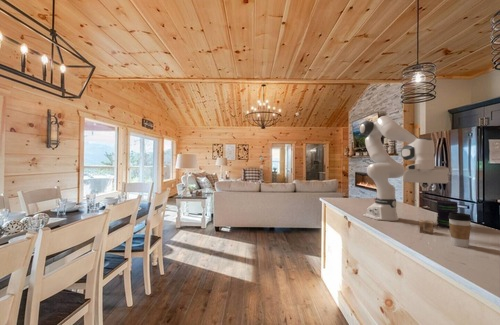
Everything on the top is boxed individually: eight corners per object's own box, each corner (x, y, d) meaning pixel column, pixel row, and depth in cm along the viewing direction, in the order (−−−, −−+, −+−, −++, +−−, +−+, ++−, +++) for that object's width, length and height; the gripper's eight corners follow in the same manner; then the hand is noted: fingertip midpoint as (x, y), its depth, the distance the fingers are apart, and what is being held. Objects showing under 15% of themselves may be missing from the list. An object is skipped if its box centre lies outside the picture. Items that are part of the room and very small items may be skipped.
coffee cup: (454, 247, 109) (453, 214, 109) (444, 241, 117) (444, 211, 117) (476, 249, 106) (476, 215, 106) (465, 242, 114) (464, 211, 114)
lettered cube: (419, 232, 132) (419, 221, 132) (420, 230, 137) (419, 219, 137) (433, 234, 128) (432, 223, 128) (433, 231, 133) (432, 220, 133)
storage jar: (462, 229, 137) (462, 203, 137) (443, 228, 139) (442, 203, 139) (451, 224, 147) (450, 200, 147) (433, 224, 149) (433, 200, 149)
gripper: (448, 166, 129) (449, 191, 129) (404, 166, 141) (404, 189, 141) (449, 166, 124) (449, 192, 124) (403, 166, 136) (403, 190, 136)
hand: (425, 190), depth 133 cm, fingers closed
